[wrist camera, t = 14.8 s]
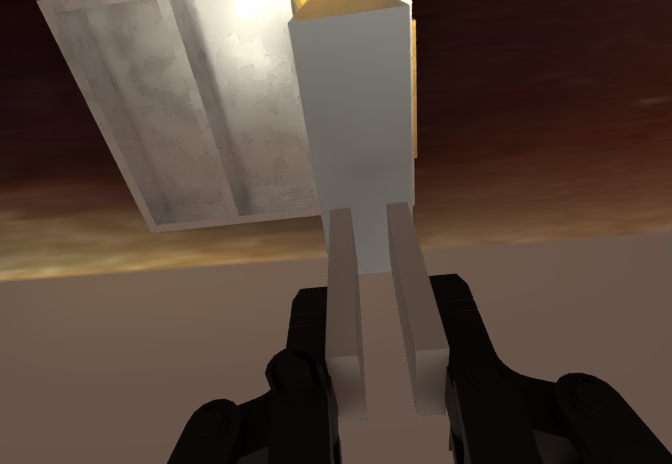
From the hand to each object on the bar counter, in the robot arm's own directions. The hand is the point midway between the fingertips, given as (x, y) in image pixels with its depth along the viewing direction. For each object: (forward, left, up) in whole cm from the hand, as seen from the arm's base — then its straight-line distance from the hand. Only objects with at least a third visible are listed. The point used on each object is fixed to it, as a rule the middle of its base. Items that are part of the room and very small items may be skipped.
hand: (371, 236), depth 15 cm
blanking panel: (0, 0, -20) cm, 20 cm away
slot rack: (-4, -6, -20) cm, 22 cm away
